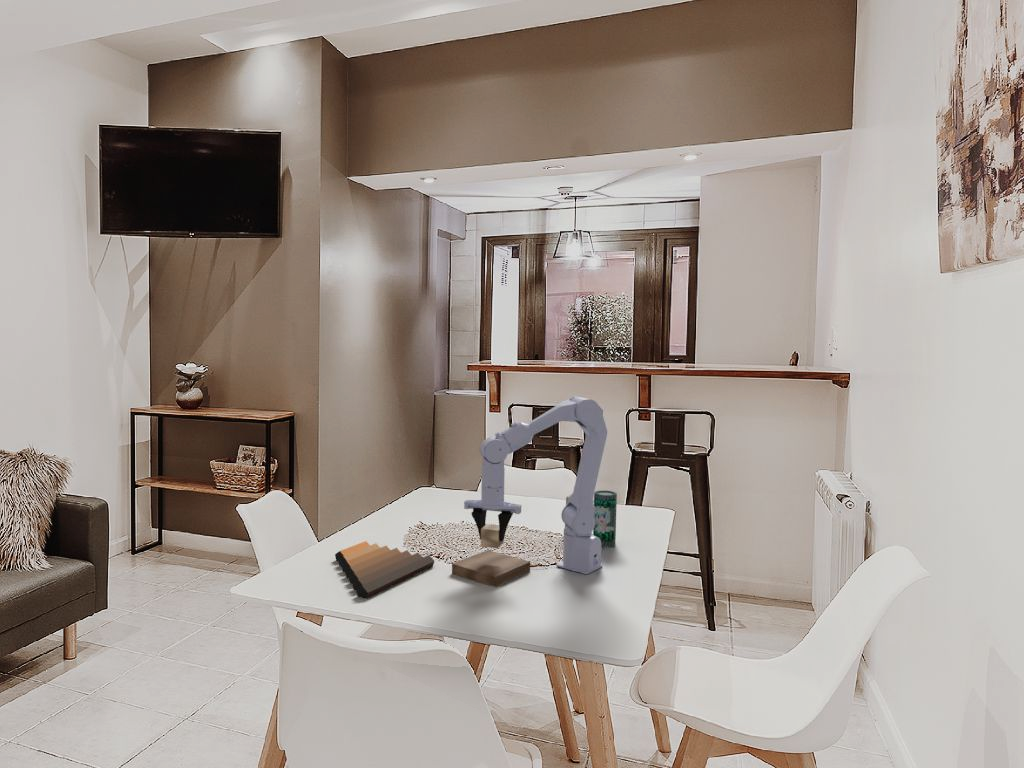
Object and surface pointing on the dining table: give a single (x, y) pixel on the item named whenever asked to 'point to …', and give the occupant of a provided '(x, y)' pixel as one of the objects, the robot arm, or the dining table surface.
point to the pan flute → (379, 567)
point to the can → (605, 517)
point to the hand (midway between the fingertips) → (492, 539)
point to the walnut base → (491, 568)
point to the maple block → (490, 536)
